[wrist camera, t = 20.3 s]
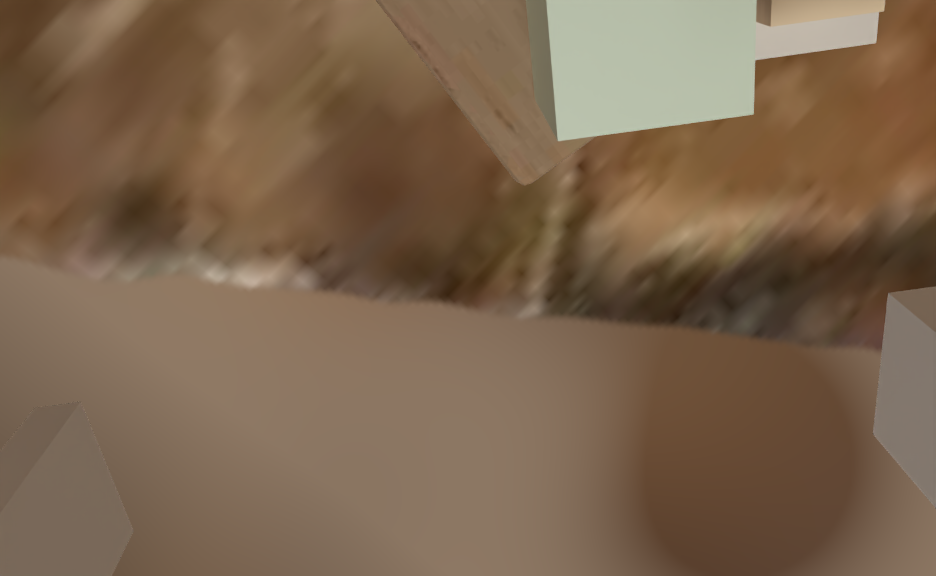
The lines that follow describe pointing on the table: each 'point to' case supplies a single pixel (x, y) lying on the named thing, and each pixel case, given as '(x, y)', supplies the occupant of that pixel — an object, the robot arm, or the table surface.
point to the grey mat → (815, 35)
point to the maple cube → (811, 10)
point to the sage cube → (640, 63)
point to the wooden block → (486, 75)
